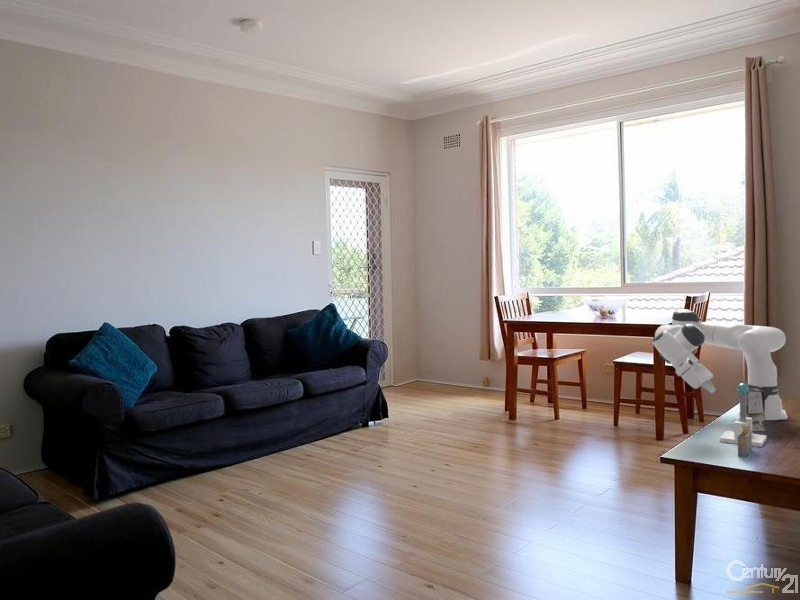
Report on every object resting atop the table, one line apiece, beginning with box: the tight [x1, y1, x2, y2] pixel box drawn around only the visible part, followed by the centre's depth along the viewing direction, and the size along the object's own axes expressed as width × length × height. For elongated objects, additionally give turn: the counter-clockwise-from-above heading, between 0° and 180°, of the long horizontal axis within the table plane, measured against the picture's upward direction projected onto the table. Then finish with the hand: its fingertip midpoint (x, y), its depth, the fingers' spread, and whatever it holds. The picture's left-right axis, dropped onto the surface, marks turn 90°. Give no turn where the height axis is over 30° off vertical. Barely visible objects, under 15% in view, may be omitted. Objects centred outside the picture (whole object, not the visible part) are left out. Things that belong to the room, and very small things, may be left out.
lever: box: [736, 382, 749, 427], centre depth 246 cm, size 6×4×18 cm
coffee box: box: [746, 388, 766, 432], centre depth 262 cm, size 9×6×16 cm
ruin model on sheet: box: [737, 424, 753, 458], centre depth 231 cm, size 11×3×10 cm, turn 143°
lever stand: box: [719, 416, 768, 448], centre depth 246 cm, size 12×14×8 cm
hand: (714, 391), depth 251 cm, fingers closed
